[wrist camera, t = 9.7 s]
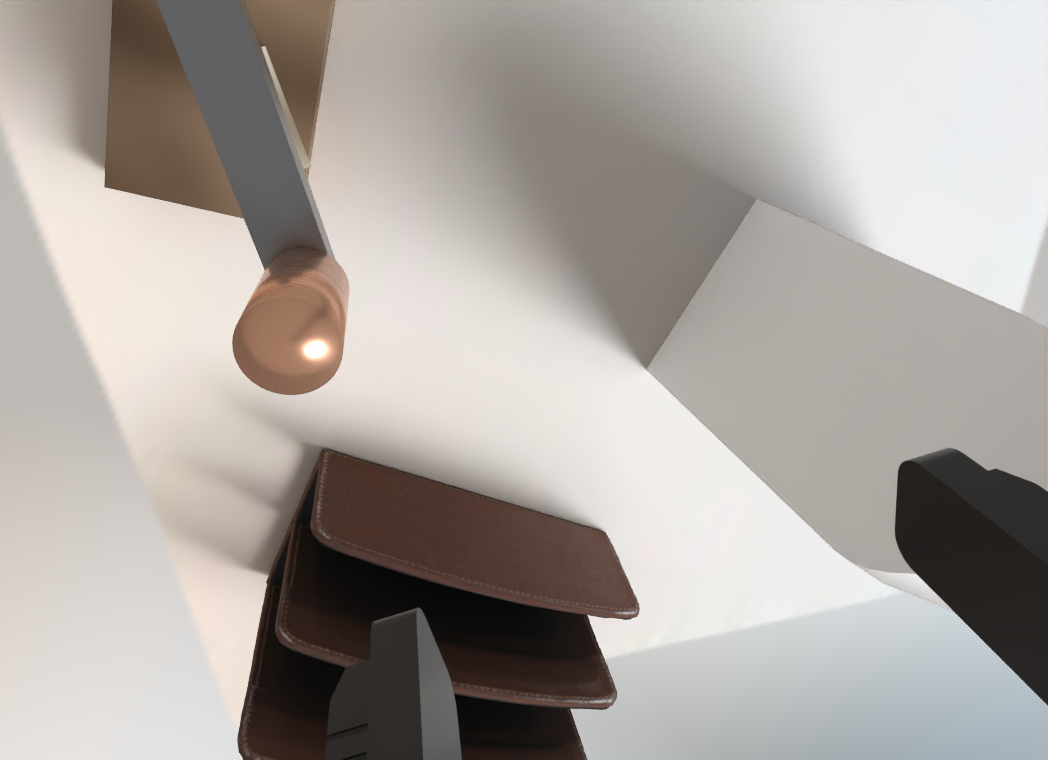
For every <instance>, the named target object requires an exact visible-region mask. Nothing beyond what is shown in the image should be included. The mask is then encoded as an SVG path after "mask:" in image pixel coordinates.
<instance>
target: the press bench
mask: <svg viewBox="0 0 1048 760" xmlns="http://www.w3.org/2000/svg"><path fill="white" fill-rule="evenodd" d="M245 2H246V5H247V7H248V10H249V13H250V16H251V19H252V22H253V25H254V28H255V30H256V33H257V36H258V39H259V42H260V45H261V48H262V51H263V53H264V56H265V59H266V62H267V65H268V68H269V71H270V74H271V76H272V79H273V82H274V85H275V88H276V91H277V94H278V97H279V99H280V102H281V105H282V108H283V111H284V114H285V117H286V119H287V122H288V125H289V128H290V131H291V134H292V137H293V140H294V142H295V145H296V148H297V151H298V154H299V157H300V160H301V163H302V165H303V168H304V171H305V174H306V177H307V179H308V173H309V167H311V165H310V160H311V153H312V147H313V141H314V134H315V128H316V121H317V115H318V108H319V102H320V95H321V89H322V82H323V76H324V69H325V63H326V56H327V50H328V43H329V37H330V30H331V24H332V17H333V11H334V5H335V0H245ZM105 187H107V188H111V189H115V190H120V191H124V192H129V193H133V194H138V195H142V196H147V197H151V198H155V199H160V200H164V201H169V202H173V203H178V204H182V205H187V206H191V207H195V208H200V209H204V210H209V211H213V212H218V213H222V214H227V215H231V216H235V217H240V218H244V217H243V215H242V212H241V210H240V207H239V205H238V202H237V200H236V197H235V195H234V192H233V190H232V187H231V185H230V182H229V180H228V177H227V175H226V172H225V170H224V167H223V165H222V162H221V160H220V157H219V155H218V153H217V150H216V148H215V145H214V143H213V140H212V138H211V135H210V133H209V130H208V128H207V125H206V123H205V120H204V118H203V115H202V113H201V110H200V108H199V105H198V103H197V100H196V98H195V95H194V93H193V90H192V88H191V85H190V83H189V80H188V78H187V75H186V73H185V70H184V68H183V65H182V63H181V61H180V58H179V56H178V53H177V51H176V48H175V46H174V43H173V41H172V38H171V36H170V33H169V31H168V28H167V26H166V23H165V21H164V18H163V16H162V13H161V11H160V8H159V6H158V3H157V1H156V0H113V5H112V28H111V51H110V73H109V96H108V119H107V142H106V164H105Z"/></svg>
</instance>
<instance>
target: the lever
mask: <svg viewBox="0 0 1048 760" xmlns="http://www.w3.org/2000/svg"><path fill="white" fill-rule="evenodd" d="M156 1H157V3H158V6H159V8H160V11H161V13H162V16H163V18H164V21H165V23H166V26H167V28H168V31H169V33H170V36H171V38H172V41H173V43H174V46H175V48H176V51H177V53H178V56H179V58H180V61H181V63H182V65H183V68H184V70H185V73H186V75H187V78H188V80H189V83H190V85H191V88H192V90H193V93H194V95H195V98H196V100H197V103H198V105H199V108H200V110H201V113H202V115H203V118H204V120H205V123H206V125H207V128H208V130H209V133H210V135H211V138H212V140H213V143H214V145H215V148H216V150H217V153H218V155H219V157H220V160H221V162H222V165H223V167H224V170H225V172H226V175H227V177H228V180H229V182H230V185H231V187H232V190H233V192H234V195H235V197H236V200H237V202H238V205H239V207H240V210H241V212H242V215H243V217H244V220H245V222H246V225H247V227H248V230H249V232H250V235H251V237H252V240H253V242H254V245H255V247H256V249H257V252H258V254H259V257H260V259H261V262H262V264H263V267H264V269H265V272H264V274H263V275H262V277H261V279H260V281H259V283H258V285H257V287H256V289H255V291H254V293H253V295H252V297H251V298H250V300H249V302H248V304H247V306H246V308H245V310H244V312H243V314H242V316H241V318H240V319H239V321H238V323H237V325H236V328H235V330H234V334H233V342H232V344H233V352H234V356H235V359H236V362H237V364H238V365H239V367H240V369H241V370H242V372H243V373H244V374H245V375H246V376H247V377H248V378H249V379H250V380H251V381H252V382H253V383H255V384H257V385H258V386H260V387H262V388H264V389H266V390H268V391H271V392H274V393H278V394H285V395H297V394H304V393H308V392H311V391H314V390H316V389H318V388H320V387H321V386H323V385H324V384H326V383H327V382H328V381H329V380H330V379H331V378H332V377H333V376H334V374H335V373H336V372H337V370H338V368H339V366H340V363H341V360H342V355H343V346H344V337H345V328H346V319H347V309H348V300H349V283H348V279H347V276H346V274H345V272H344V270H343V269H342V267H341V266H340V265H339V263H338V262H337V261H336V260H335V257H334V255H333V252H332V249H331V246H330V243H329V240H328V237H327V234H326V232H325V229H324V226H323V223H322V220H321V217H320V214H319V211H318V209H317V206H316V203H315V200H314V197H313V194H312V191H311V188H310V186H309V183H308V180H307V177H306V174H305V171H304V168H303V165H302V163H301V160H300V157H299V154H298V151H297V148H296V145H295V142H294V140H293V137H292V134H291V131H290V128H289V125H288V122H287V119H286V117H285V114H284V111H283V108H282V105H281V102H280V99H279V97H278V94H277V91H276V88H275V85H274V82H273V79H272V76H271V74H270V71H269V68H268V65H267V62H266V59H265V56H264V53H263V51H262V48H261V45H260V42H259V39H258V36H257V33H256V30H255V28H254V25H253V22H252V19H251V16H250V13H249V10H248V7H247V5H246V2H245V0H156Z"/></svg>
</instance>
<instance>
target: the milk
mask: <svg viewBox="0 0 1048 760" xmlns="http://www.w3.org/2000/svg"><path fill="white" fill-rule="evenodd" d="M646 370H647V371H648V372H649V373H650V374H651V375H652V376H653V377H654V378H655V379H656V380H657V381H659V382H660V383H661V384H662V385H663V386H664V387H665V388H666V389H667V390H668V391H669V392H670V393H671V394H672V395H673V396H674V397H675V398H676V399H677V400H678V401H679V402H680V403H681V404H683V405H684V406H685V407H686V408H687V409H688V410H689V411H690V412H691V413H692V414H693V415H694V416H695V417H696V418H697V419H698V420H699V421H700V422H701V423H702V424H703V425H704V426H706V427H707V428H708V429H709V430H710V431H711V432H712V433H713V434H714V435H715V436H716V437H717V438H718V439H719V440H720V441H721V442H722V443H723V444H724V445H725V446H726V447H727V448H728V449H730V450H731V451H732V452H733V453H734V454H735V455H736V456H737V457H738V458H739V459H740V460H741V461H742V462H743V463H744V464H745V465H746V466H747V467H748V468H749V469H750V470H751V471H753V472H754V473H755V474H756V475H757V476H758V477H759V478H760V479H761V480H762V481H763V482H764V483H765V484H766V485H767V486H768V487H769V488H770V489H771V490H772V491H773V492H774V493H775V494H777V495H778V496H779V497H780V498H781V499H782V500H783V501H784V502H785V503H786V504H787V505H788V506H789V507H790V508H791V509H792V510H793V511H794V512H795V513H796V514H797V515H798V516H800V517H801V518H802V519H803V520H804V521H805V522H806V523H807V524H808V525H809V526H810V527H811V528H812V529H813V530H814V531H815V532H816V533H817V534H818V535H819V536H820V537H821V538H822V539H824V540H825V541H826V542H827V543H828V544H829V545H830V546H831V547H832V548H833V549H834V550H835V551H836V552H838V553H839V554H840V555H842V556H843V557H845V558H846V559H847V560H849V561H850V562H852V563H853V564H855V565H856V566H858V567H859V568H861V569H862V570H864V571H865V572H867V573H868V574H870V575H871V576H873V577H874V578H876V579H877V580H879V581H880V582H882V583H884V584H886V585H889V586H891V587H894V588H896V589H899V590H901V591H904V592H906V593H909V594H911V595H914V596H916V597H919V598H921V599H924V600H926V601H929V602H931V603H933V604H936V605H938V606H941V607H943V608H946V609H948V610H951V611H953V610H952V609H951V608H950V607H949V606H948V605H947V604H946V603H945V602H944V601H943V600H942V599H941V598H940V597H939V596H938V595H937V594H936V593H935V592H934V591H933V590H932V589H931V588H930V587H929V586H928V585H927V584H926V583H925V582H924V581H923V580H922V579H921V578H920V577H919V576H918V575H917V574H916V573H915V572H914V571H913V570H912V569H911V568H910V567H909V565H908V564H907V563H906V561H905V560H904V558H903V556H902V554H901V552H900V550H899V548H898V545H897V542H896V538H895V515H896V497H897V478H898V469H899V466H900V465H901V463H902V462H904V461H906V460H910V459H913V458H916V457H919V456H923V455H926V454H929V453H933V452H936V451H939V450H942V449H946V448H953V449H956V450H959V451H961V452H962V453H964V454H965V455H967V456H968V457H969V458H971V459H972V460H974V461H975V462H976V463H978V464H979V465H981V466H982V467H984V468H985V469H986V470H988V471H989V470H992V469H999V470H1002V471H1004V472H1007V473H1010V474H1012V475H1015V476H1017V477H1020V478H1023V479H1025V480H1028V481H1031V482H1033V483H1036V484H1037V485H1039V486H1040V487H1042V488H1043V489H1045V490H1046V491H1048V328H1047V327H1045V326H1043V325H1042V324H1040V323H1038V322H1036V321H1034V320H1032V319H1031V318H1029V317H1027V316H1025V315H1022V314H1020V313H1018V312H1015V311H1013V310H1011V309H1008V308H1006V307H1004V306H1002V305H999V304H997V303H995V302H992V301H990V300H988V299H986V298H983V297H981V296H979V295H976V294H974V293H972V292H970V291H967V290H965V289H963V288H960V287H958V286H956V285H953V284H951V283H949V282H947V281H944V280H942V279H940V278H937V277H935V276H933V275H931V274H928V273H926V272H924V271H921V270H919V269H917V268H915V267H912V266H910V265H908V264H905V263H903V262H901V261H899V260H896V259H894V258H892V257H889V256H887V255H885V254H882V253H880V252H878V251H876V250H873V249H871V248H869V247H866V246H864V245H862V244H860V243H857V242H855V241H853V240H850V239H848V238H846V237H844V236H841V235H839V234H837V233H834V232H832V231H830V230H827V229H825V228H823V227H821V226H818V225H816V224H814V223H811V222H809V221H807V220H805V219H802V218H800V217H798V216H795V215H793V214H791V213H789V212H786V211H784V210H782V209H779V208H777V207H775V206H772V205H770V204H768V203H766V202H763V201H761V200H759V199H757V200H756V201H755V203H754V204H753V206H752V207H751V209H750V210H749V212H748V213H747V215H746V217H745V218H744V220H743V221H742V223H741V224H740V226H739V227H738V229H737V230H736V232H735V233H734V235H733V237H732V238H731V240H730V241H729V243H728V244H727V246H726V247H725V249H724V250H723V252H722V253H721V255H720V257H719V258H718V260H717V261H716V263H715V264H714V266H713V267H712V269H711V270H710V272H709V273H708V275H707V277H706V278H705V280H704V281H703V283H702V284H701V286H700V287H699V289H698V290H697V292H696V293H695V295H694V297H693V298H692V300H691V301H690V303H689V304H688V306H687V307H686V309H685V310H684V312H683V313H682V315H681V317H680V318H679V320H678V321H677V323H676V324H675V326H674V327H673V329H672V330H671V332H670V333H669V335H668V337H667V338H666V340H665V341H664V343H663V344H662V346H661V347H660V349H659V350H658V352H657V353H656V355H655V357H654V358H653V360H652V361H651V363H650V364H649V366H648V367H647V369H646ZM953 612H954V611H953Z"/></svg>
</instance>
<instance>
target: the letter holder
mask: <svg viewBox="0 0 1048 760" xmlns="http://www.w3.org/2000/svg"><path fill="white" fill-rule="evenodd" d="M266 583H267V588H266V593H265V598H264V603H263V607H262V613H261V617H260V623H259V628H258V633H257V638H256V644H255V649H254V654H253V661H252V667H251V672H250V677H249V682H248V687H247V693H246V697H245V701H244V706H243V710H242V715H241V722H240V727H239V733H238V748H239V753H240V754H241V756H242V758H243V760H325V750H326V743H327V742H328V738H327V728H328V717H329V706H330V700H331V698H332V695H333V693H334V691H335V689H336V687H337V685H338V683H339V681H340V679H341V677H342V675H343V672H344V670H345V668H346V667H347V666H351V665H354V664H357V663H360V662H364V661H367V660H370V642H371V626H372V623H373V622H374V621H377V620H380V619H383V618H386V617H390V616H393V615H396V614H399V613H403V612H406V611H409V610H413V609H416V608H420V609H421V610H422V612H423V613H424V616H425V618H426V620H427V623H428V625H429V627H430V630H431V632H432V634H433V637H434V639H435V642H436V644H437V646H438V649H439V651H440V654H441V656H442V658H443V661H444V663H445V665H446V668H447V670H448V673H449V676H450V680H451V683H452V687H453V692H454V696H455V702H456V708H457V717H458V727H459V737H460V746H461V756H462V760H587V758H586V754H585V752H584V748H583V745H582V742H581V739H580V736H579V734H578V731H577V728H576V725H575V722H574V719H573V716H572V713H571V710H570V709H571V708H572V709H599V710H603V709H607V708H609V707H610V706H612V705H613V704H614V702H615V700H616V698H617V691H616V688H615V685H614V682H613V679H612V677H611V675H610V672H609V669H608V666H607V664H606V662H605V659H604V657H603V654H602V652H601V649H600V648H599V645H598V643H597V641H596V637H595V635H594V632H593V630H592V627H591V624H590V622H589V618H588V616H587V615H591V616H597V617H602V618H617V619H624V620H627V619H631V618H634V617H637V616H638V614H639V603H638V602H637V598H636V596H635V594H634V592H633V590H632V588H631V586H630V583H629V581H628V579H627V576H626V575H625V573H624V570H623V568H622V566H621V563H620V561H619V558H618V556H617V554H616V552H615V550H614V547H613V545H612V543H611V542H610V539H609V538H608V536H607V534H606V533H605V532H603V531H598V530H595V529H591V528H588V527H586V526H581V525H579V524H575V523H571V522H570V521H565V520H562V519H558V518H555V517H551V516H548V515H545V514H541V513H538V512H534V511H531V510H528V509H525V508H522V507H518V506H515V505H511V504H508V503H505V502H502V501H498V500H495V499H492V498H488V497H486V496H482V495H478V494H475V493H472V492H469V491H465V490H462V489H458V488H456V487H452V486H448V485H445V484H442V483H439V482H434V481H431V480H428V479H424V478H423V477H419V476H414V475H411V474H407V473H405V472H401V471H398V470H394V469H391V468H387V467H385V466H380V465H377V464H374V463H370V462H367V461H363V460H359V459H357V458H353V457H350V456H347V455H343V454H339V453H336V452H333V451H328V450H322V451H321V454H320V456H319V459H318V461H317V463H316V465H315V467H314V469H313V472H312V474H311V477H310V480H309V482H308V484H307V487H306V489H305V491H304V494H303V496H302V498H301V501H300V503H299V505H298V508H297V510H296V512H295V514H294V517H293V519H292V521H291V523H290V526H289V528H288V530H287V533H286V535H285V538H284V540H283V542H282V544H281V547H280V549H279V552H278V554H277V556H276V559H275V561H274V563H273V566H272V569H271V571H270V574H269V577H268V579H267V582H266Z"/></svg>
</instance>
